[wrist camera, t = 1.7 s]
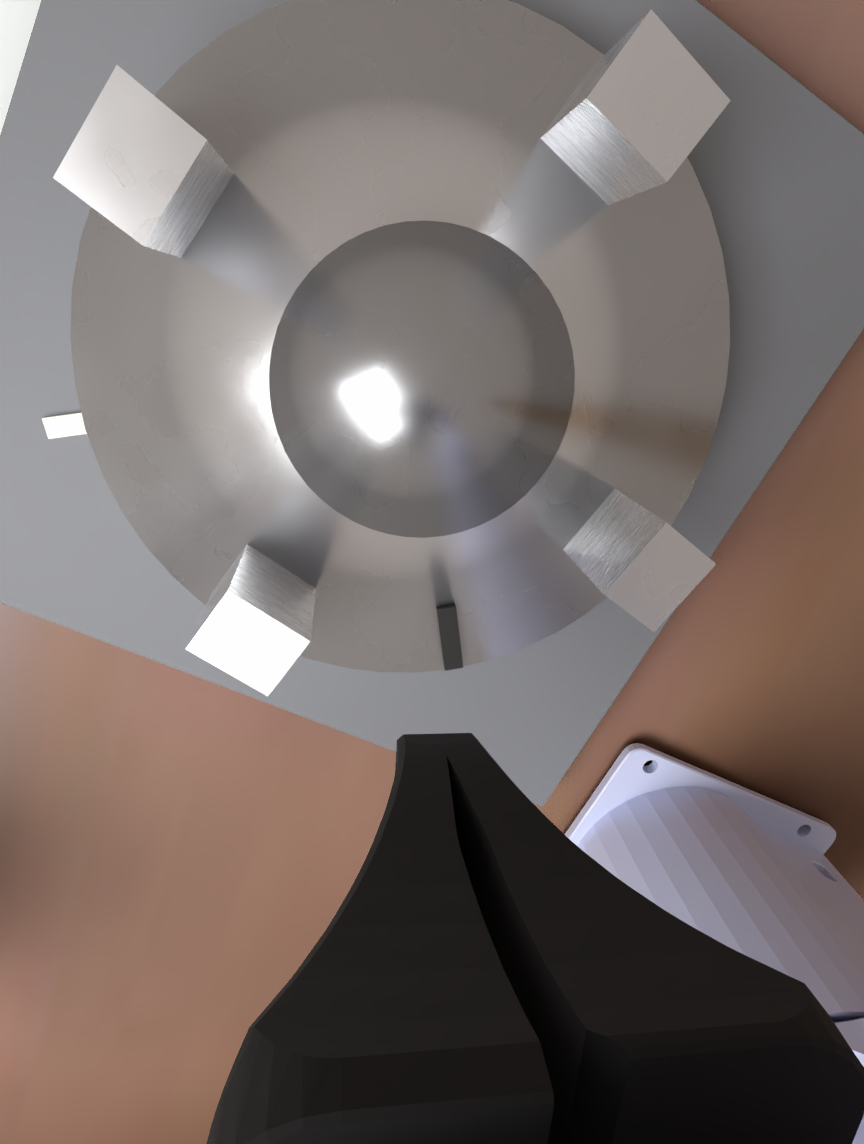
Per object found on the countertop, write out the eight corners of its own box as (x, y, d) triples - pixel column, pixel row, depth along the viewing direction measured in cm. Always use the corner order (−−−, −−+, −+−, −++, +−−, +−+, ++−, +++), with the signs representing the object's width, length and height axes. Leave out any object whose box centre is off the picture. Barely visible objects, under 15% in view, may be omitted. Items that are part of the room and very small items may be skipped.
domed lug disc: (341, -192, 13) (339, -401, 9) (822, 322, 18) (955, 326, 14) (-32, 439, 16) (-149, 480, 12) (458, 739, 21) (485, 838, 17)
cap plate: (912, 208, 19) (953, 201, 17) (533, 783, 24) (543, 810, 22) (183, -360, 13) (167, -430, 12) (-99, 539, 18) (-131, 556, 17)
